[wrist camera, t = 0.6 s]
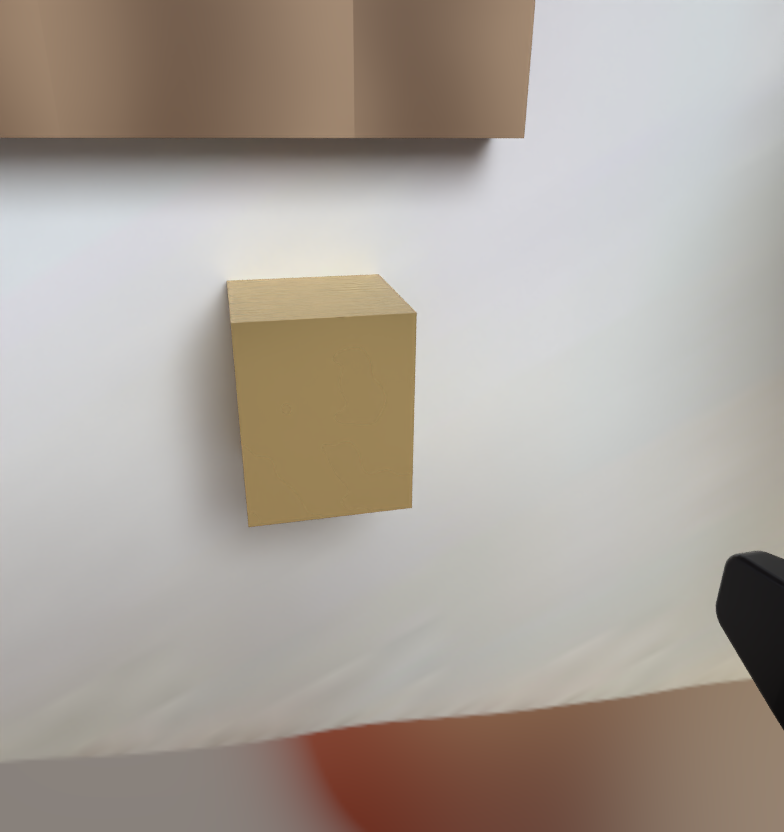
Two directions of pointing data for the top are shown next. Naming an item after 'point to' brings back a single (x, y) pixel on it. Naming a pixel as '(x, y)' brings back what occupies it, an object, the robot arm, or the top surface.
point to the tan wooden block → (323, 396)
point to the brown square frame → (264, 68)
